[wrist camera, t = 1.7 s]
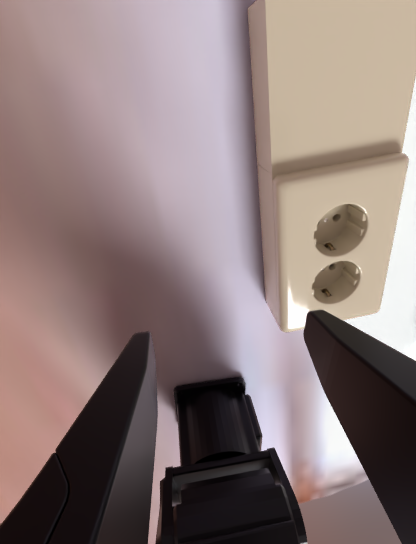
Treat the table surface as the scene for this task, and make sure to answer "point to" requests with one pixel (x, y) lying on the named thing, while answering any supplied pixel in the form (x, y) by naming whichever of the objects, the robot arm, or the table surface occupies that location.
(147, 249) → the table surface
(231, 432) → the robot arm
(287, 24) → the electrical outlet
